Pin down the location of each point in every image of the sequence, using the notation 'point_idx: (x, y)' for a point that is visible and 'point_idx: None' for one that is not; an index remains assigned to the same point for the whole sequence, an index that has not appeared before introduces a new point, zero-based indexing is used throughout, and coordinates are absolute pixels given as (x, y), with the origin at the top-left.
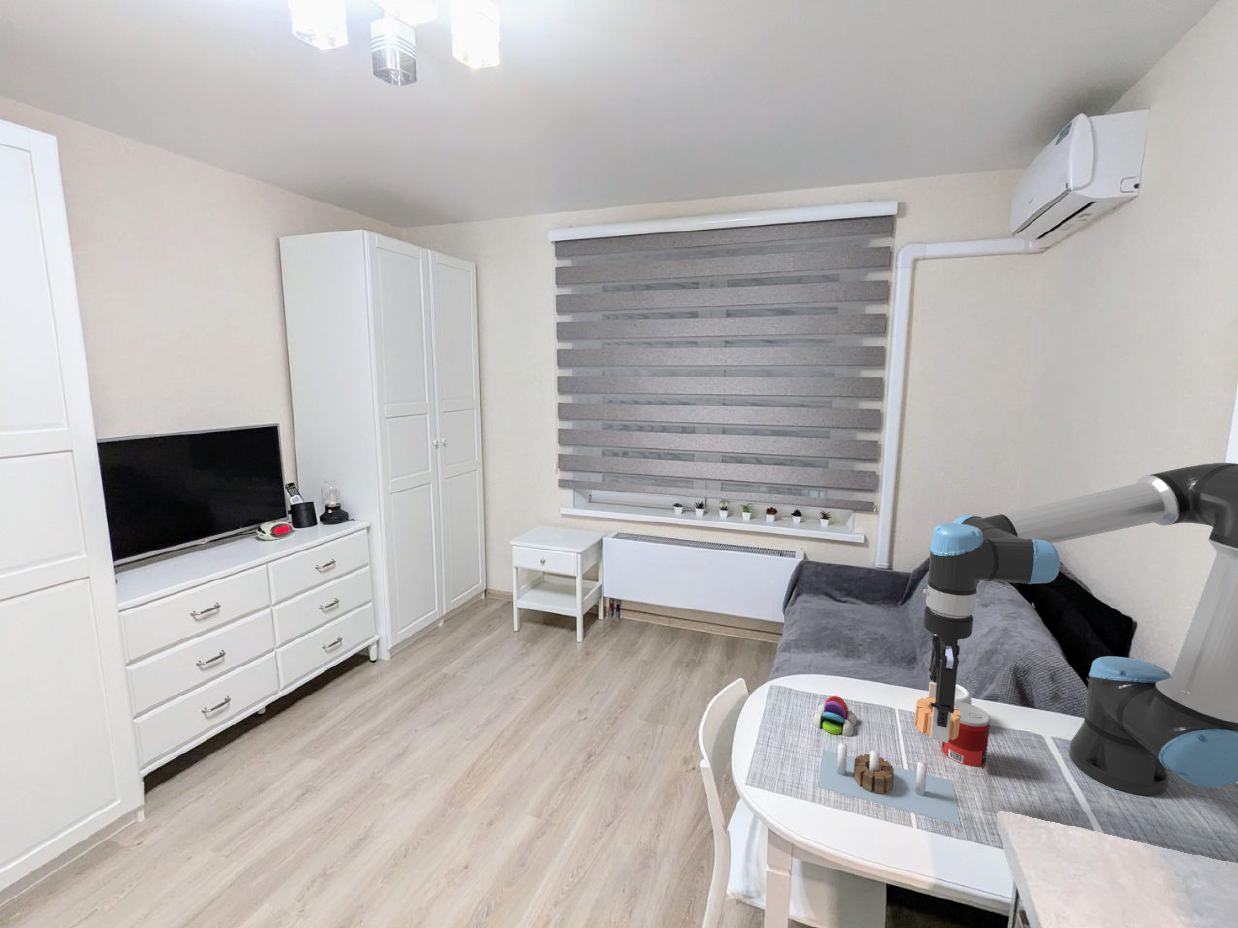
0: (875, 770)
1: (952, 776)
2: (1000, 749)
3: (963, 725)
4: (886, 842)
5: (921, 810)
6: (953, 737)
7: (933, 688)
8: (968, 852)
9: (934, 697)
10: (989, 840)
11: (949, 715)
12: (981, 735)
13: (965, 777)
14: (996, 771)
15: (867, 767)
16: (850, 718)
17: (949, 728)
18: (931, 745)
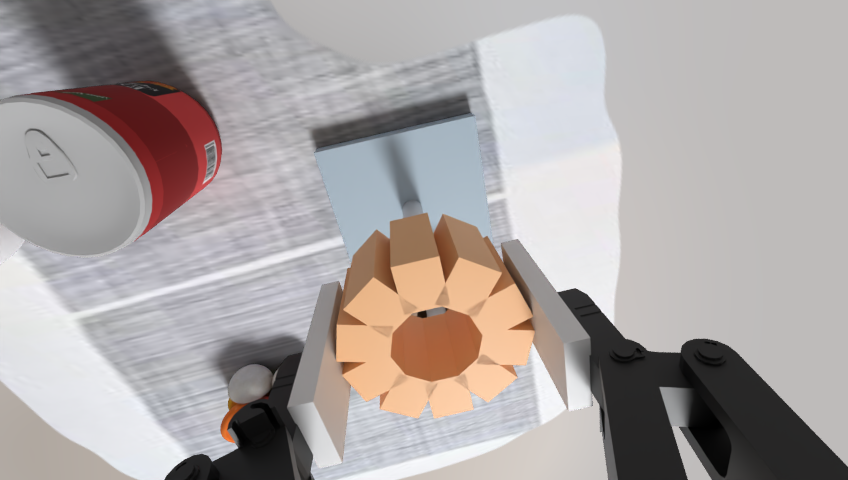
0: (443, 307)
1: (268, 153)
2: (3, 42)
3: (154, 182)
4: (570, 229)
5: (471, 196)
6: (471, 228)
7: (340, 424)
8: (523, 89)
9: (342, 376)
10: (459, 48)
11: (569, 316)
12: (128, 113)
13: (247, 124)
14: (145, 48)
15: (423, 317)
16: (260, 389)
17: (541, 271)
18: (171, 216)
